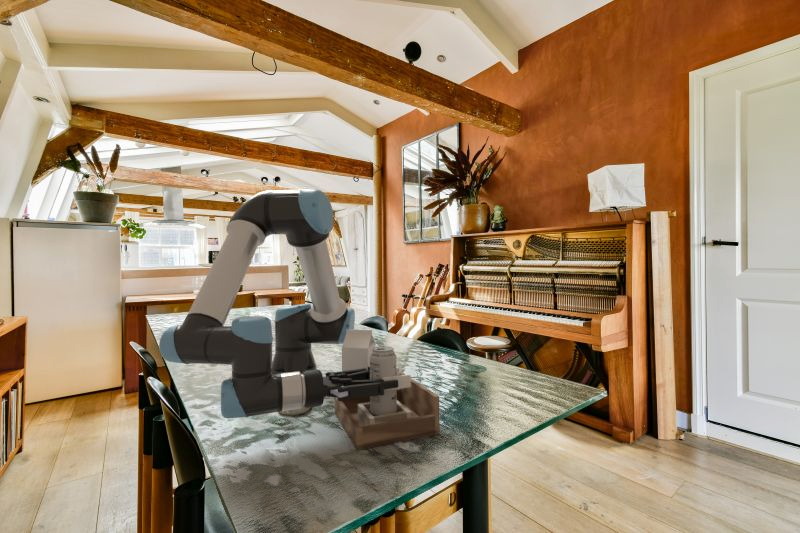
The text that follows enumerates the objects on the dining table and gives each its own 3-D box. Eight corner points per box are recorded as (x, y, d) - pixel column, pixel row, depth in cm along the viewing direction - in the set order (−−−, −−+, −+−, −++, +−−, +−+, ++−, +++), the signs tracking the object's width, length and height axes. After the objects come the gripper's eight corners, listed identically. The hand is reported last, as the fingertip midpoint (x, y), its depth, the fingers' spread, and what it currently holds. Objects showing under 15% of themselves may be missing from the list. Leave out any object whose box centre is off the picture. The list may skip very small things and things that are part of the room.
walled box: (334, 413, 91) (334, 380, 91) (402, 403, 98) (402, 372, 98) (357, 450, 73) (357, 409, 73) (439, 434, 80) (439, 396, 80)
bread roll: (313, 402, 100) (313, 387, 100) (309, 415, 91) (309, 398, 91) (281, 403, 99) (281, 388, 99) (274, 416, 90) (274, 400, 90)
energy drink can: (399, 418, 83) (398, 350, 83) (372, 421, 82) (372, 352, 82) (393, 408, 89) (393, 345, 89) (368, 411, 88) (367, 346, 88)
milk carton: (368, 407, 96) (368, 332, 96) (342, 405, 97) (341, 331, 97) (375, 397, 103) (375, 328, 103) (351, 396, 104) (350, 327, 104)
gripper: (296, 393, 88) (389, 381, 96) (309, 424, 70) (421, 406, 79) (296, 361, 88) (389, 352, 96) (309, 384, 70) (421, 370, 79)
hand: (403, 376), depth 88 cm, fingers closed on energy drink can, 6 cm apart
